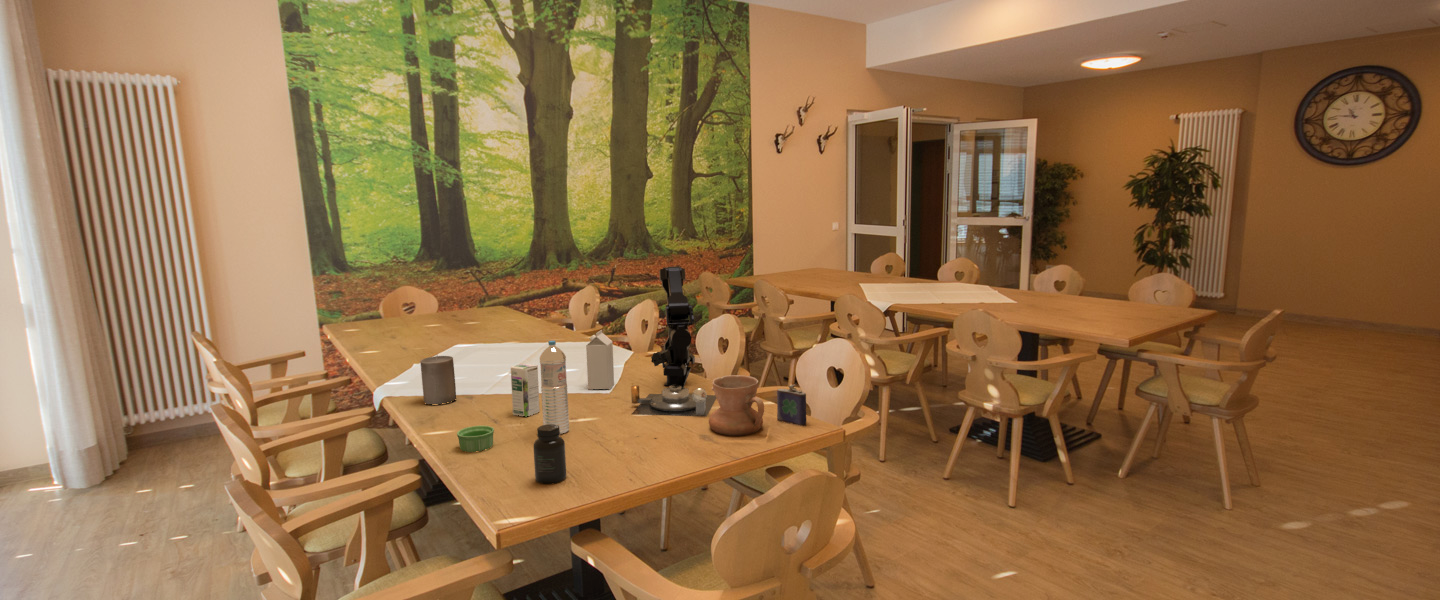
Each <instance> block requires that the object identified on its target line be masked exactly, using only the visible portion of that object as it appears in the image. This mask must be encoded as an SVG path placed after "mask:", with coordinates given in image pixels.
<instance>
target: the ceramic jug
mask: <svg viewBox="0 0 1440 600" xmlns="http://www.w3.org/2000/svg"><path fill="white" fill-rule="evenodd" d="M758 388H759V380H758V379H757V378H756V377H753V376H751V375H750V376H749V375H742V374H741V375H739V374H738V375H737V374H736V375H734V374H731V375H730V374H729V375H724V376H721V377H716V378H714V379H712V387H711V388H710V389H711V391H712V392H714V395H715V396H716V398H717V399H716V401H717V403H718V405H719V407H718V408H717V409H715V411H713V412H712V413H710V416H709V418H708V424H709V427H710V429H711V430H712V431H713V432H715V433H717V434H719V435H723V436H730V437H732V436H733V437H739V436H740V437H742V436H749V435H752V434H755V433H757V432H758V431H760V430H761V429H762V427H763V424H764V419H763V417H764V414H765V404H764V401H763V399H762V398H760V397H759V396H757V393H758ZM753 403H755V404H756V405H757V406H756V407H757V410H756V409H754V408H753V407H752V406H753Z"/></svg>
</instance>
